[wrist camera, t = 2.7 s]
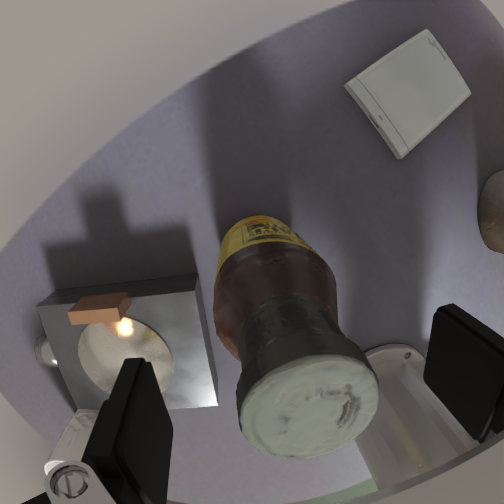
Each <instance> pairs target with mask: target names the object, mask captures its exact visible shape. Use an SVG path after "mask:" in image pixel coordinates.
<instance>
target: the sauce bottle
mask: <svg viewBox="0 0 504 504" xmlns="http://www.w3.org/2000/svg"><path fill="white" fill-rule="evenodd" d="M213 313H214V323H215V327H216V333H217V335H218V336H219V338H220V340H221V341H222V342H223V344H224V346H225V347H226V349H227V350H228V351H229V352H230V353H231V354H232V355H233V356H234V357H235V358H237V360H239V361H241V363H242V373H241V375H240V379H239V381H238V384H237V390H236V397H237V410H238V418H239V425H240V429H241V432H242V433H243V434H244V435H245V437H246V439H247V440H248V441H249V442H250V443H251V444H252V445H253V446H255V447H256V448H257V449H258V450H260V451H262V452H264V453H267V454H271V455H274V456H278V457H282V458H286V459H307V458H313V457H317V456H319V455H322V454H325V453H329V452H332V451H335V450H337V449H339V448H341V447H343V446H345V445H346V444H348V443H349V442H351V441H352V440H353V439H354V438H356V437H357V436H358V435H359V434H360V433H361V432H363V431H364V430H365V428H366V427H367V426H368V424H369V423H370V421H371V420H372V418H373V417H374V414H375V413H376V411H377V408H378V400H379V380H378V378H377V375H376V373H375V372H374V370H373V369H372V366H371V364H370V363H369V360H368V359H367V357H366V356H365V354H364V352H363V351H362V350H361V349H360V348H359V347H358V346H357V345H356V344H355V343H354V342H352V341H351V340H349V339H348V338H346V337H345V335H344V334H343V333H342V332H341V330H340V328H339V325H338V311H337V290H336V281H335V277H334V275H333V272H332V271H331V269H330V267H329V266H328V264H327V263H326V262H325V261H324V260H323V259H322V258H321V257H320V256H319V255H318V254H317V253H316V252H315V251H314V250H313V249H312V248H311V247H310V246H309V245H308V244H307V243H306V242H305V241H304V240H302V239H301V238H300V237H299V236H298V235H297V234H296V233H295V232H294V231H292V230H291V229H290V228H289V227H288V226H287V225H286V224H284V223H283V222H281V221H280V220H278V219H276V218H273V217H269V216H263V215H259V216H250V217H248V218H245V219H243V220H240V221H239V222H237V223H236V224H235V225H234V226H232V227H231V229H230V230H229V231H228V232H227V233H226V235H225V237H224V239H223V241H222V244H221V247H220V253H219V261H218V267H217V273H216V279H215V285H214V305H213Z"/></svg>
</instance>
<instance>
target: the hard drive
mask: <svg viewBox="0 0 504 504" xmlns="http://www.w3.org/2000/svg"><path fill="white" fill-rule="evenodd" d="M343 86H344V88H345V89H346V90H347V91H348V93H349V94H350V95H351V96H352V98H353V99H354V100H355V101H356V103H357V104H358V105H359V107H360V108H361V109H362V110H363V112H364V113H365V114H366V116H367V117H368V118H369V120H370V121H371V123H372V124H373V125H374V127H375V128H376V129H377V131H378V132H379V134H380V135H381V136H382V138H383V139H384V141H385V142H386V144H387V145H388V146H389V148H390V149H391V151H392V152H393V154H394V155H395V157H396V159H402V158H403V157H404V156H405V155H407V154H408V153H409V152H410V151H411V150H412V149H413V148H414V147H415V146H416V145H417V144H419V143H420V142H421V141H422V140H423V139H424V138H425V137H426V136H427V135H428V134H429V133H431V132H432V131H433V130H434V129H435V128H436V127H437V126H438V125H439V124H440V123H441V122H442V121H444V120H445V119H446V118H447V117H448V116H449V115H450V114H451V113H452V112H453V111H454V110H455V109H456V108H457V107H458V106H460V105H461V104H462V103H463V102H464V101H465V100H466V99H467V98H468V97H469V96H470V95H471V92H470V90H469V88H468V86H467V84H466V83H465V81H464V80H463V78H462V76H461V75H460V73H459V72H458V70H457V69H456V67H455V66H454V64H453V63H452V61H451V60H450V58H449V57H448V55H447V54H446V53H445V51H444V50H443V48H442V47H441V45H440V44H439V43H438V41H437V40H436V39H435V37H434V36H433V35H432V34H431V32H430V31H429V30H427V29H425V30H423V31H421V32H420V33H418V34H417V35H415V36H413V37H412V38H410V39H409V40H407V41H406V42H404V43H403V44H401V45H400V46H398V47H397V48H395V49H394V50H392V51H391V52H389V53H388V54H386V55H385V56H384V57H382V58H381V59H379V60H378V61H376V62H375V63H374V64H372V65H371V66H369V67H368V68H367V69H365V70H364V71H362V72H361V73H360V74H358V75H357V76H356V77H354V78H353V79H351V80H350V81H349V82H347V83H346V84H345V85H343Z"/></svg>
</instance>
